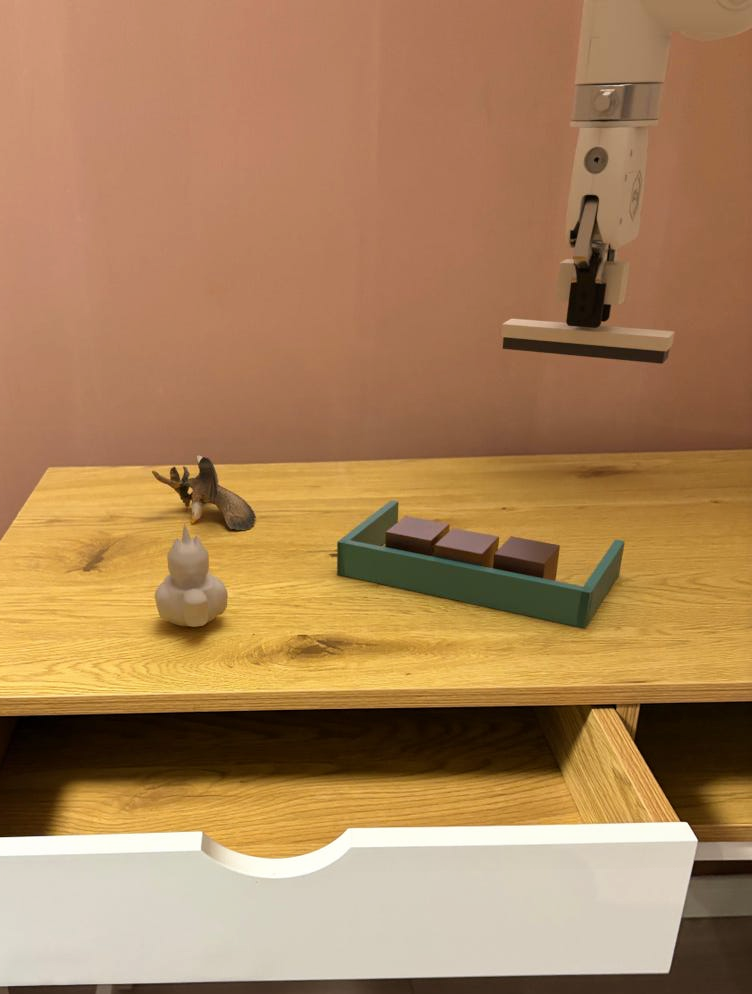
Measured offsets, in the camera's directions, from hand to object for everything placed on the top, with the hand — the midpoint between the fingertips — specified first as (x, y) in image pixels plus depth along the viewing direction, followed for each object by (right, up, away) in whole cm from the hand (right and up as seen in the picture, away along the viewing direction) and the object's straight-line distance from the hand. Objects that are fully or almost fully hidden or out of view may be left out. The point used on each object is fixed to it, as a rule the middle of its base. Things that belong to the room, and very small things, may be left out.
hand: (587, 321), depth 95 cm
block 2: (-15, -27, -15) cm, 34 cm away
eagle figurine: (-37, -20, -1) cm, 42 cm away
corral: (-13, -25, -13) cm, 32 cm away
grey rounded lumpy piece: (-37, -30, -20) cm, 52 cm away
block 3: (-11, -28, -17) cm, 34 cm away
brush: (0, -3, +2) cm, 3 cm away
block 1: (-19, -25, -13) cm, 34 cm away
